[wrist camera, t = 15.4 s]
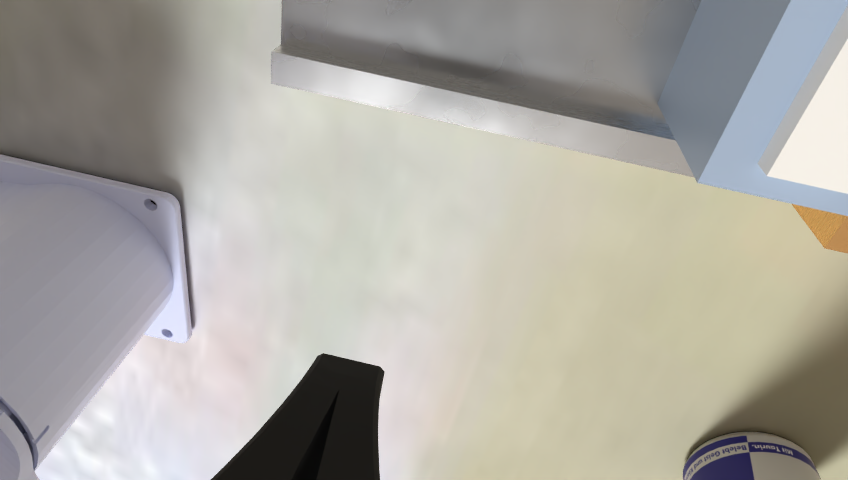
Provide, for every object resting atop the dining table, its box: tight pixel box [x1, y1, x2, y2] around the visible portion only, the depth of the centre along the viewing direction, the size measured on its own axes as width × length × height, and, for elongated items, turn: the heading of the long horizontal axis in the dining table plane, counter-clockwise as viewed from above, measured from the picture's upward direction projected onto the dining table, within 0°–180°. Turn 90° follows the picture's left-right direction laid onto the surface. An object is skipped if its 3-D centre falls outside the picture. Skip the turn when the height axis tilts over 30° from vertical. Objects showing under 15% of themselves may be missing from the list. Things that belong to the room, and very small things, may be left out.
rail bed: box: [271, 0, 848, 253], centre depth 15 cm, size 18×9×4 cm, turn 80°
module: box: [657, 0, 848, 216], centre depth 13 cm, size 4×6×6 cm
